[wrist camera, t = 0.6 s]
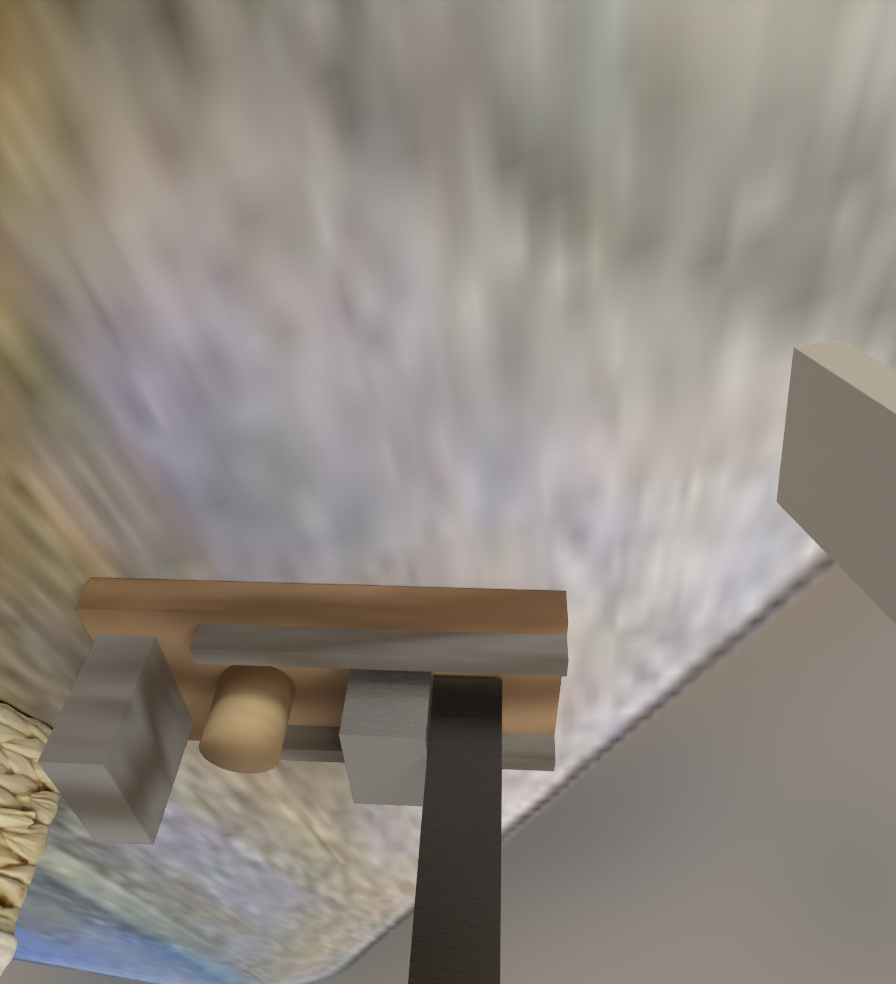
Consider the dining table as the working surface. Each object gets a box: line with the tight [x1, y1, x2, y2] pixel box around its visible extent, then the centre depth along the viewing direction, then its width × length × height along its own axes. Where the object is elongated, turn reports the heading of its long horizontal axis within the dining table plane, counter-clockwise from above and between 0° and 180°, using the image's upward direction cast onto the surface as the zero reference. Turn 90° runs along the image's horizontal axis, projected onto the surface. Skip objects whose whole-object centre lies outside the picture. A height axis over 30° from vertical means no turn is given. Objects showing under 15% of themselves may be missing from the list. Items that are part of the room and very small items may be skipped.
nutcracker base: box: [38, 578, 568, 845], centre depth 40 cm, size 12×24×9 cm, turn 91°
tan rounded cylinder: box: [199, 665, 295, 773], centre depth 41 cm, size 4×4×4 cm
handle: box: [339, 669, 502, 984], centre depth 35 cm, size 7×8×19 cm
